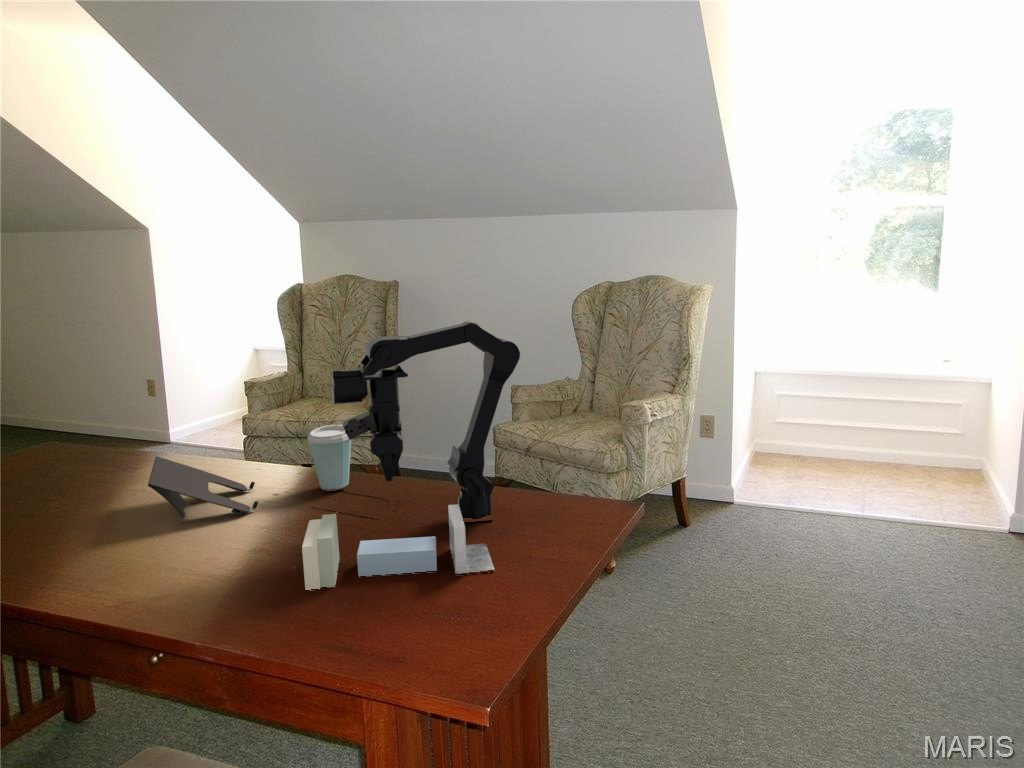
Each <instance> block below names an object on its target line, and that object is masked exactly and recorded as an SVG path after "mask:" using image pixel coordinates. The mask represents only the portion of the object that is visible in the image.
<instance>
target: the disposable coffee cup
mask: <svg viewBox="0 0 1024 768" xmlns="http://www.w3.org/2000/svg"><path fill="white" fill-rule="evenodd" d="M307 442H308V443H309V448H310V452H311V456H312V460H313V464H314V467H315V472H316V476H317V480H318V483H319V487H320V488H321V490H322V489H328V490H330V489H339V488H343V487H345V486H347V485H348V486H349V482H350V481H349V480H350V466H351V454H352V453H351V450H352V439H349V438H348V436H347V434H346V433H345V430H344V427H343V424H328V425H323V426H320V427H316V428H314V429H313V430H311V431H310V432H309V434H308V436H307Z"/></svg>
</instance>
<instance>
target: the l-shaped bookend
mask: <svg viewBox="0 0 1024 768" xmlns="http://www.w3.org/2000/svg"><path fill="white" fill-rule="evenodd" d="M447 509H448V510H447V511H448V527H449V528H448V531H449V533H448V534H449V535H448V536H449V551H450V550H451V551H450V555H451V554H452V556H451V559H453V561H452V565H453V564H454V565H453V569H455V570H454V574H462V573H469V572H480V571H488V570H494V571H495V567H494V563H493V561H492V558H491V556H490V555H491V554H490V551H489V549H488V546H485V545H487V543H486V544H485V545H483V544H484V543H475V544H473V543H472V544H467V541H466V540H467V539H466V525H465V523H464V521H463V518H462V514H461V511H460V507H459V504H458V503H457V504H456V503H455V504H448V507H447ZM481 545H482V546H481Z"/></svg>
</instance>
